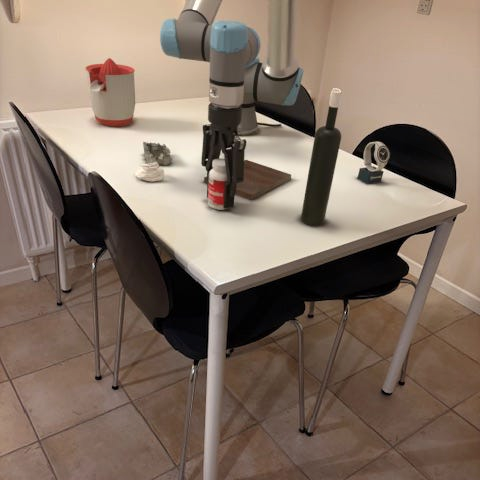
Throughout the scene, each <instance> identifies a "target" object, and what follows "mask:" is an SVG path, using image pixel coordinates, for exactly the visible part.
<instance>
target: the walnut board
mask: <svg viewBox="0 0 480 480" xmlns="http://www.w3.org/2000/svg"><path fill="white" fill-rule="evenodd" d="M291 180H292V174H291V173H288V172H284V171H282V170H279V169H275V168H272V167H270V166H267V165H263V164H261V163H258V162H254V161H252V160H249V159H244V181H243V182H241V183H237V187H236V195H237V196H239V197H242V198H245V199H247V200H250V201H253V200H255V199H257V198H258V197H260V196H263V195H264V194H267V193H268V192H270V191H272V190H274V189H277V188H278V187H279V186H281V185H283V184H285V183H287V182H290V181H291ZM203 183H205V184H207V175H206V176H203ZM236 195H235V196H236Z"/></svg>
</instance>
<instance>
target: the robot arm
mask: <svg viewBox="0 0 480 480" xmlns="http://www.w3.org/2000/svg"><path fill="white" fill-rule="evenodd" d="M222 3H223V0H186V1H185V3H184V5H183V7H182V10H181V12H180V14H179V16H178V18H177V19H176V18H174V17H173V18H166V19H165V20H163V22H162V24H161V27H160V33H159V42H160V46H161V51H162V52H163V54H164V55H166V56H168V57H172V58H176V59H178V60H179V59H180V60H181V59H182V60H189V61H197V62H206V63H209V78H208V79H209V80H208V81H209V89H208V101H209V102H210V103H209V104H208V108H207V120H208V122H209V123H208V124H207V123H206V124H203V125H202V134H203V135H202V149H201V162H200V163H201V164H200V165H201V166H202V167H204V168H205V171H206V176H207V183H206V184H207V185H206V198H207V199H208V186H209V172H210V170H211V169H213V167H212V162H213V160H214V159H219V158H220V156H221V154H223V159H225V166H226V174H227V182H225V190H224V207H223V208H225V209H224V210H228V209H230V208H233V207H235V199H236V198H235V197H236V187H237V183H241V182H243V181H244V160H245V152H246V151H245V150H246V148H247V147H246V146H247V140H246V139H245V138H244V139H242V138H241V137H240V136H251V135H254V134H255V135H256V133H258V131H259V126H264V127H271V128H276V127H277V128H279V127H282V126H283V125H282V123H275V124H274V123H273V124H272V123H266V122H258V117H257V111H256V102H262V103H266V104H274V105H280V106H293V105H294V104H295V103H296V101H297V98H298V94H299V91H300V88H301V84H302V79H303V76H304V69H303V68H302V67H300V66H299V60H298V59H297V57H296V56H295V46H296V30H297V29H296V27H297V9H298V0H266V57H265V58H264V59H263V60H262V62H260V57H259V56H258V55H259V54H260V51H261V39H260V36H259V34H258V32H257V31H256V30H255V29H254V28H252V27H251V26H247V25H246V24H245V23H243V22H240V21H236V20H235V21H234V20H216V21H215V19H216V17H217V15H218V12H219V10H220V7H221V5H222ZM227 208H228V209H227Z"/></svg>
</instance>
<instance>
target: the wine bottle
mask: <svg viewBox="0 0 480 480" xmlns="http://www.w3.org/2000/svg"><path fill="white" fill-rule="evenodd" d="M342 93H343V92H342V90H341V88H337V87H333V88H332V90H331V91H330V96H329V102H328V110H327V115H326V121H325V125H324V126H320V127H319V128H318V129H317V130H316V131H315V132H314V133H315V134H314V138H313V145H312V151H311V156H310V162H309V169H308V173H307V179H306V184H305V185H306V187H305V192H304V198H303V203H302V208H301V215H300V221H301V222H302V223H303V224H305V225H308V226H313V227H318V226H322V225H324V223H325V219H326V214H327V210H328V204H329V199H330V195H331V189H332V185H333V180H334V175H335V170H336V164H337V161H338V156H339V150H340V146H341V141H342V133H341V131H340V129H338V128H337V127H335V126H336V121H337V116H338V110H339V107H340V103H341V98H342Z"/></svg>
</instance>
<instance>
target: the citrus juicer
mask: <svg viewBox="0 0 480 480" xmlns="http://www.w3.org/2000/svg"><path fill="white" fill-rule="evenodd" d="M85 71H86V76H87V85H88V86H87V87H88V95H89V96H88V97H89V101H90V105H91V109H92V112H93V115H94V118H95V119H96V121H97V123H98V124H100V125H103V126H109V127H115V128H119V127H123V126H128V125H130V124H131V123H132V122H133V118H134V116H135V115H134V114H135V109H136V108H135V107H136V86H135V85H136V83H135V71H136V70H135V68H134V67H132V66H129V65H126V64H125V65H124V64H117V63H116V62H115V61H114V60H113V59H112V58H110V57H108V58H107V59H106V60H105V61H104V62H103V63H95V64H89V65H87V66H86V67H85Z"/></svg>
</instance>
